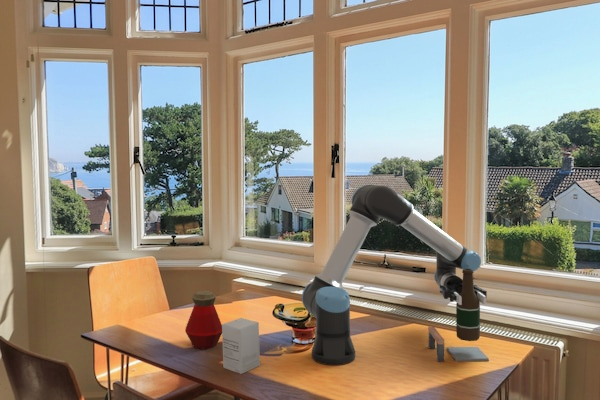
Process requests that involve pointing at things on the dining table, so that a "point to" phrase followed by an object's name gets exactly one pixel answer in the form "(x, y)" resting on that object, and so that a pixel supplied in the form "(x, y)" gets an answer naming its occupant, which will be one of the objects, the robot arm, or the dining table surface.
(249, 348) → the supplement box
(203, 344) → the red faceted jar
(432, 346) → the hurdle posts
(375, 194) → the robot arm
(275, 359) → the dining table surface
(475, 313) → the beer bottle
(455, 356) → the grey mat
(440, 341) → the hurdle bar
